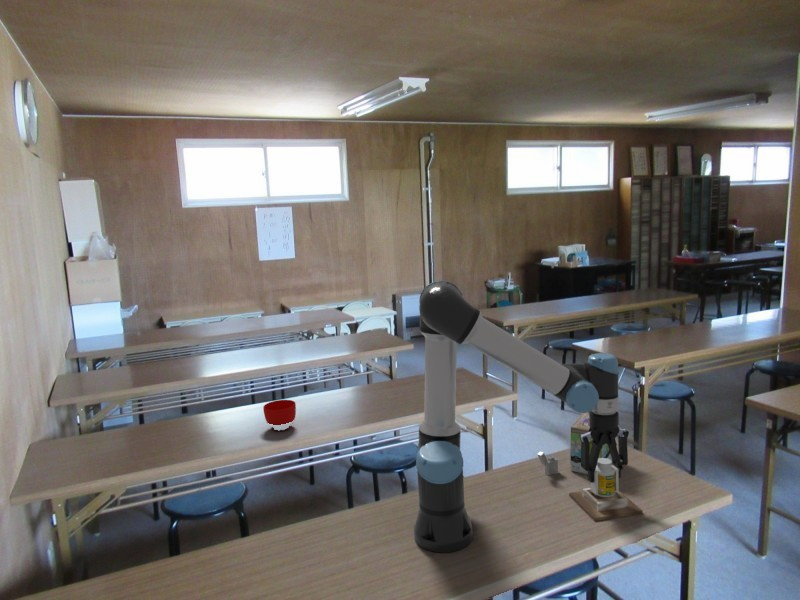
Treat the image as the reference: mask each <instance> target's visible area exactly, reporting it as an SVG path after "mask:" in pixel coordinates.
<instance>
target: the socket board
mask: <svg viewBox="0 0 800 600" xmlns="http://www.w3.org/2000/svg"><path fill="white" fill-rule="evenodd" d="M568 496H569V497H570V498H571V499H572V500H573V501H574V502H575V503H576V504H577V505H578V506H579V507H580V508H581V509H582V511H584V513H585V514H587V516H589V517H590V518H591V520H592V521H593V522H596V521H601V520H602V521H603V520H609V519H615V518H620V517H627V516H634V515H639V514H643V513H644V512H643V509H642V508H640V507H639V506H638V505H637V504H635V503H634V502H633V501H632V500H631V499H630V498H628V497H627V496H626V495H625V494H624V493H622V492H621V491H620V490H619V491H618V492H616V491H615V495H614V496H612V497H608V498H605V497H600V496H598V495H595V494H594V493H593V492H592V491H591V487H587V488H582V490H580V491H574V492H573V491H572V492H569V493H568Z"/></svg>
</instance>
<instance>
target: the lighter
mask: <svg viewBox="0 0 800 600" xmlns="http://www.w3.org/2000/svg"><path fill="white" fill-rule="evenodd" d="M536 455H537V457H538V458H539V461H540V463H541V464H542V465H544V475H546V476H548V477H549V476H552V475H555V474H557V473H559V460H558V458H556V457H555V456H552V455H551V456H548V457H546V454H545V453H544V452H543V451H539V452H538V453H537V454H536Z"/></svg>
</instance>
